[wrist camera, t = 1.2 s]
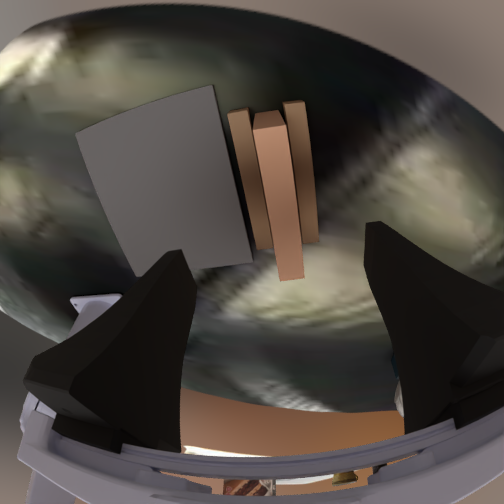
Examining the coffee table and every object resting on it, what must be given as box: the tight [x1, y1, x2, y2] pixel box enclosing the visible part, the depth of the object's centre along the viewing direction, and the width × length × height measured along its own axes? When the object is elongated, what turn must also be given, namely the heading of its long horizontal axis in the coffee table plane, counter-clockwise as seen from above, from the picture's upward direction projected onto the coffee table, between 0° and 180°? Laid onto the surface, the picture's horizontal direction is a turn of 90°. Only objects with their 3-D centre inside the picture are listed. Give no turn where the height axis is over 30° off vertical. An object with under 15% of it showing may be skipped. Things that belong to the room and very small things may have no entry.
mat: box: [75, 85, 253, 277], centre depth 20 cm, size 14×11×1 cm
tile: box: [253, 110, 305, 281], centre depth 17 cm, size 9×2×6 cm, turn 11°
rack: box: [227, 100, 319, 250], centre depth 18 cm, size 10×5×2 cm, turn 11°
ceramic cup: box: [332, 471, 358, 486], centre depth 79 cm, size 13×10×10 cm
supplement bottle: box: [372, 463, 387, 474], centre depth 83 cm, size 7×7×12 cm
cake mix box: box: [223, 479, 276, 496], centre depth 82 cm, size 22×6×30 cm, turn 107°
